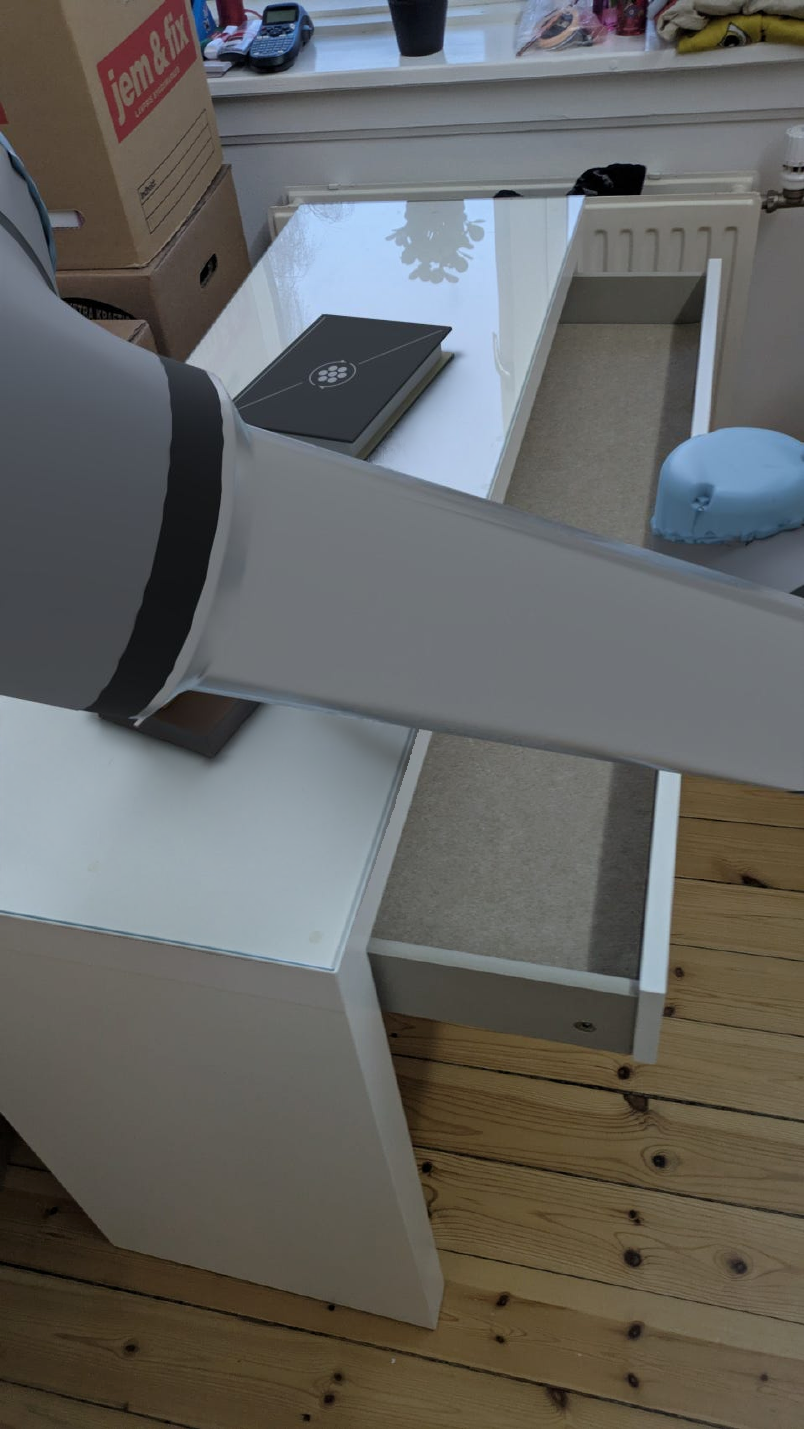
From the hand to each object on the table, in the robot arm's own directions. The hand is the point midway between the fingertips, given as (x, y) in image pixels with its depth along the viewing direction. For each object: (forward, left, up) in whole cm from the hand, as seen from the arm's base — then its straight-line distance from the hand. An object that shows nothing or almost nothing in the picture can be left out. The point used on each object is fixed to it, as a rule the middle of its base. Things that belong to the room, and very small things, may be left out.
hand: (234, 570), depth 75 cm
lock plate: (-3, -2, -7) cm, 8 cm away
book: (+15, +33, -7) cm, 36 cm away
